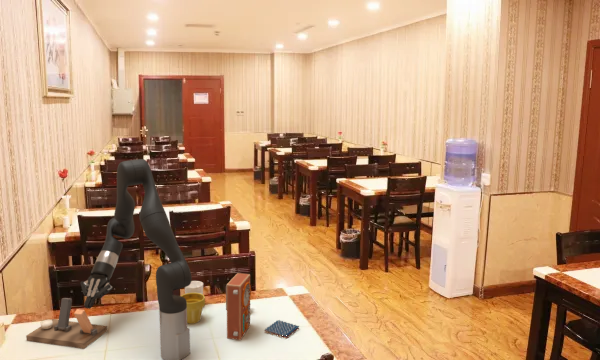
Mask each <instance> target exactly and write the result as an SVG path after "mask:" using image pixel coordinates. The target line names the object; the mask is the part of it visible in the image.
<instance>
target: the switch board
mask: <svg viewBox="0 0 600 360" xmlns="http://www.w3.org/2000/svg"><path fill="white" fill-rule="evenodd" d="M51 320H52V322H53V327H51V328H49V329H41V326H39V327H37V329H34V330H33V331H31V332H30V333H28V334H27V335H25V338H26V342H33V343H42V344H49V345H53V346H54V345H55V346H61V347H69V348H76V349H83V350H84V349H86V348H87V347H88V346H90V345H91V344H93V343H94V342H95V341H96V340H97V339H99V338H101V336H103V335H104V334H106V333H107V332H108V325H102V324H94V323H91V324H92V326H93V329H94V330H92V331H91V334H89V333H84V332H83V330H82V328H81V326H80V324H79V322H78V321H71V320H69V325H68V326H67V327H66V328H65V330H60V329H58V321H59V319H55V318H53V319H51Z"/></svg>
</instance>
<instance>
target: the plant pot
mask: <svg viewBox="0 0 600 360" xmlns="http://www.w3.org/2000/svg"><path fill="white" fill-rule="evenodd" d="M180 296H181V297H184V298H185V299H186V301H187V325H188V324H190V325H192V324H193V325H194V324H196V323H199V322H200V321H201V319H202V315H203V313H202V312H203V308H204V306H205V304H206V297H205V295H204V293H203V294H200V293H186V294H185V293H184V294H181V295H180Z"/></svg>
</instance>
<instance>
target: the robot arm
mask: <svg viewBox="0 0 600 360" xmlns="http://www.w3.org/2000/svg"><path fill="white" fill-rule="evenodd" d="M151 169H152V168H151V166H150V165H149V162H148V161H147V159H144V158H138V159H132V160H130V159H129V160H124V161H120V163H119V164H118V166H117V170H116V204H115V208H114V217H112V218H111V219H110V220H108V222H107V225H106V226H107V227H106V235H105V239H104V242H103V243H104V244H103V245H102V248H101V250H100V252H99V254H98V256H97V258H96V260H95V263H94V265H93V267H92V269H91V272H90V275H89V277H88V278H87V280H85V281H83V280H82V281H80V287H81V291H82V294H83V295H84V296H85V298H86V299H85V300H84V303H83V306H84V308H85V309H90V310H91V308H92V307H93V306H94V304H95V301H96V300H97V299H102V298H103V297H104V296H105V295H107V294H108V293H109V292H111V291H112V290H113V286H112V285H111V284H110V279H111V278H112V276H113V273H114V271H115V268H116V266H117V264H118V261H119V257H120V254H121V252H122V250H123V246H124V245H123V243H122V241H120V240H118V239H116V238H115V237H119V238H121V239H125V240H127V239H130V238H131V237H132V236H133V235H134V233H135V230H136V229H135V228H136V227H135V221H134V213H135V208H136V202H135V199H134V197H133V196H132V195H131V193H129V191H128V188H129V186H138V185H142V186H143V190H144V197H143V200H142V205H141V208H140V211H139V223H140V224H141V227H142V230H143V232H144V235H145V236H146V238H148V240H150V242H151V243H153V244H154V245H156V246H157V247H158V248H160V249H161V250H162V251H163V252H164V254H165V255H166V256H167V258H168V260H169V261H170V263H166V264H162V265H159V266H158V267H157V269H156V271H155V282H156V283H155V284H156V294H157V295H156V296H157V302H158V310H159V311H158V312H159V313H158V314H159V334H160V335H159V339H160V357H161V359H163V360H184V358H186V357H187V356H188V355H190V354H191V341H190V340H191V335H190V334H191V333H190V331H191V330H190V328H188V323H187V301H186V299H185V298H184V297H181V295H176V294H173V291H176V290H180V289H183V288H184V289H185V287H187V286H189V285H190V283H191V281H193V280H192V279H193V278H192V272H191V269H190V266H189V263H188V262H187V260H186V257H185V256H184V253H183V252H182V250H181V248H180V246H179V244H178V241H177V239H176V237H175V234H174V231H173V228H172V226H171V223H170V221H169V217H168V215H167V213H166V211H165V208H164V206H163V203H162V201H161V200H162V199H160V196H159V193H158V190H157V187H156V183H155V179H154V176H153V173H152V170H151ZM114 236H115V237H114Z"/></svg>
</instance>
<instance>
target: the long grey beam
mask: <svg viewBox="0 0 600 360" xmlns="http://www.w3.org/2000/svg"><path fill="white" fill-rule="evenodd" d="M72 304H73V299H72V298H70V297H69V298H68V297H63V298H61V301H60V309H59V314H58V315H59V316H58V320H59V321H58V329H60V330H65V328H66V327H67V326H68V325H69V321H70V318H71V317H70V316H71V311H72V310H71V309H72Z"/></svg>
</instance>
